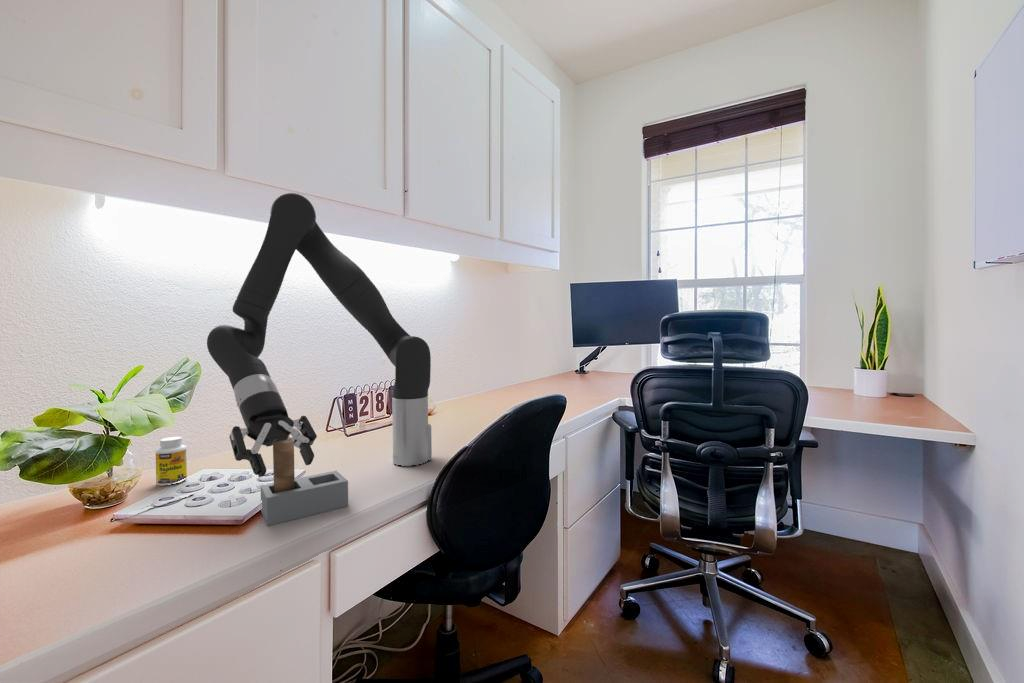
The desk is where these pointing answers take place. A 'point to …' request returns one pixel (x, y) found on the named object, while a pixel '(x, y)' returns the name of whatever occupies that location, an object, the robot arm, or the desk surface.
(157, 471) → the supplement bottle
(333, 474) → the bore block
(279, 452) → the walnut pin
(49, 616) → the desk surface
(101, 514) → the desk surface
